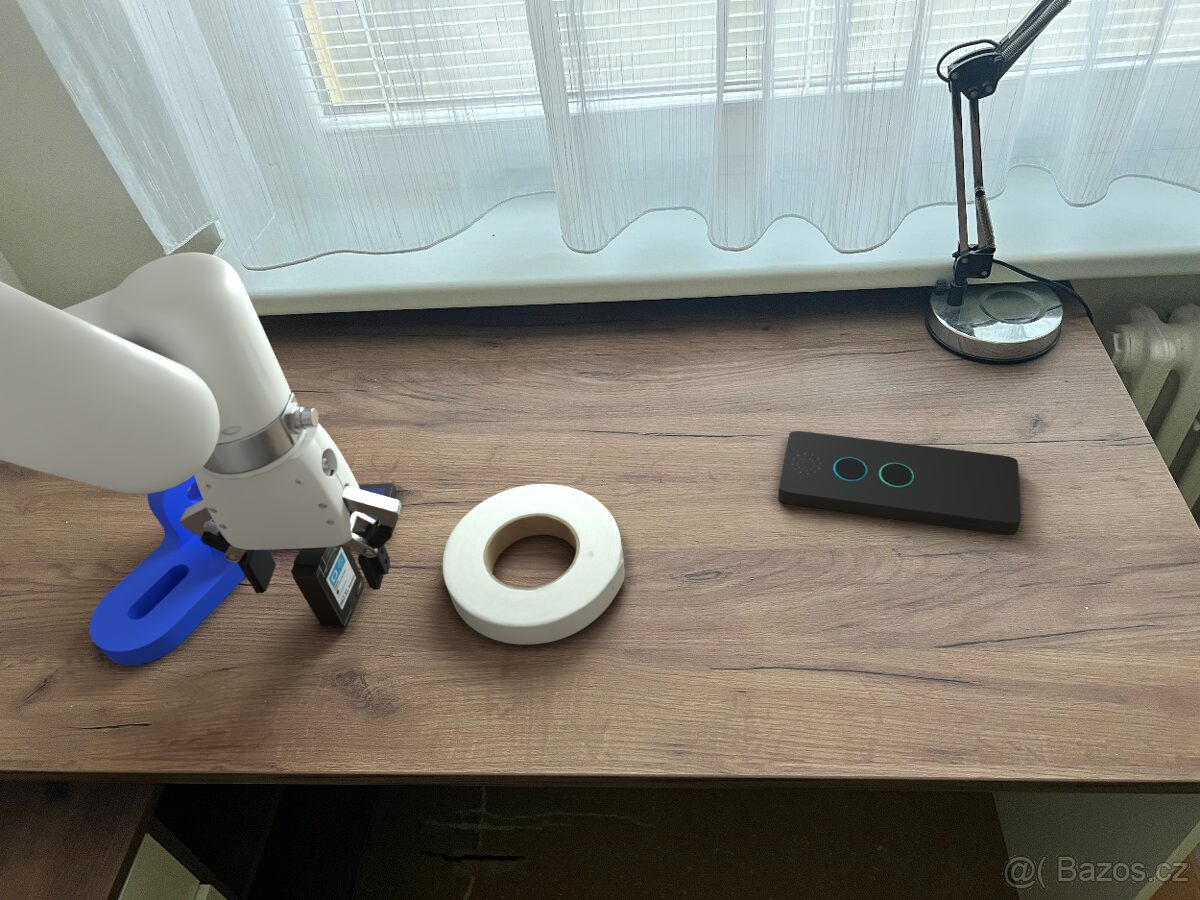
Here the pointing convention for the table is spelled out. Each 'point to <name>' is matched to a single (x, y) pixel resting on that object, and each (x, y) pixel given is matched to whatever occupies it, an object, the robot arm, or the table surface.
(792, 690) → the table surface
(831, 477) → the smart home device
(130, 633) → the bracket
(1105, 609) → the table surface
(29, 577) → the table surface
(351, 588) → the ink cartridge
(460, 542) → the tape roll
